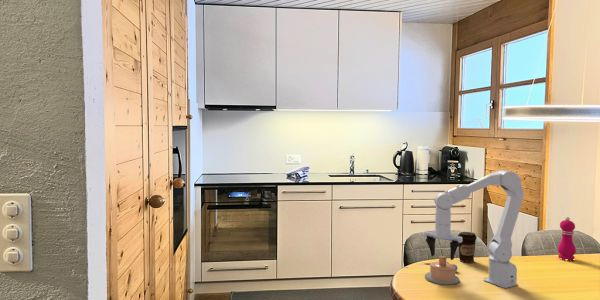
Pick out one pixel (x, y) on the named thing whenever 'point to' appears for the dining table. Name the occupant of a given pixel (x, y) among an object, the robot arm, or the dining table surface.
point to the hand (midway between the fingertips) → (442, 257)
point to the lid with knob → (442, 270)
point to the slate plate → (452, 282)
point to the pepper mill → (567, 240)
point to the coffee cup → (467, 246)
